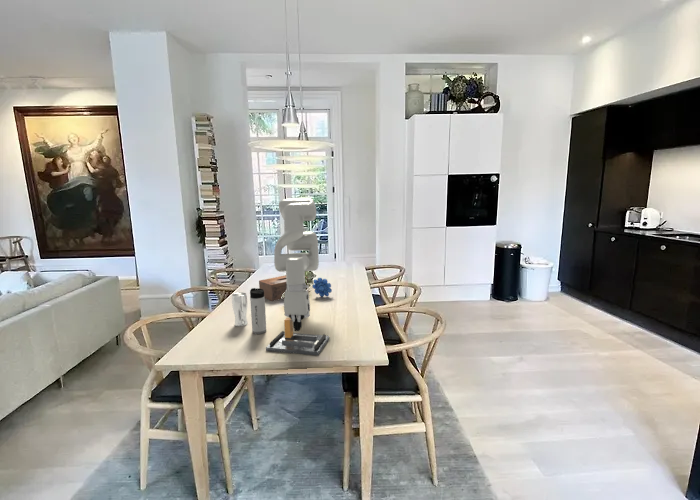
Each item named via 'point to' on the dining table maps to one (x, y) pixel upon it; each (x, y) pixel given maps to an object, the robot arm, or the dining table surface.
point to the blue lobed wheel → (322, 287)
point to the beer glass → (240, 308)
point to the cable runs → (284, 332)
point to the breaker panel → (299, 344)
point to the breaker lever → (288, 329)
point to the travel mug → (258, 310)
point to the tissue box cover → (274, 287)
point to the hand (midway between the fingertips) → (297, 329)
